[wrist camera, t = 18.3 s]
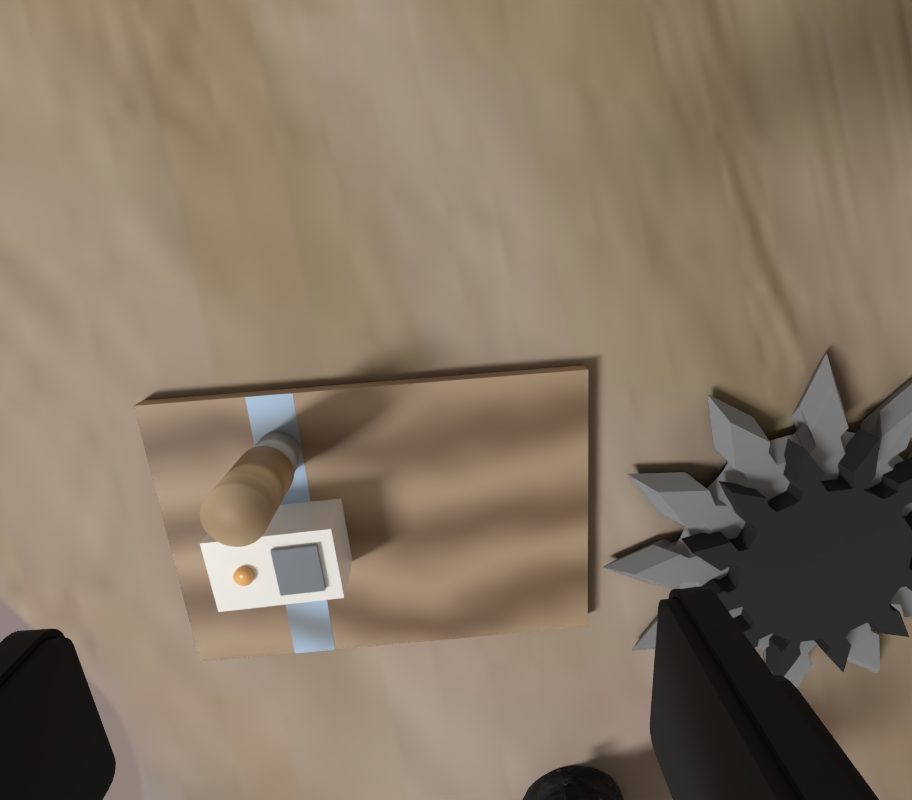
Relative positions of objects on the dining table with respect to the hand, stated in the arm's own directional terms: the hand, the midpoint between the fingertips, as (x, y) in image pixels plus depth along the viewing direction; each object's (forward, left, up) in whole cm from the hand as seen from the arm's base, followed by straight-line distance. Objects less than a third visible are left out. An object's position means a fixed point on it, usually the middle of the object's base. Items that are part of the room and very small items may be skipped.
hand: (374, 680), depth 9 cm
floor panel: (+13, -4, -28) cm, 31 cm away
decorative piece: (+18, +27, -29) cm, 43 cm away
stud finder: (+13, -10, -27) cm, 31 cm away
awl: (+6, -10, -27) cm, 29 cm away
